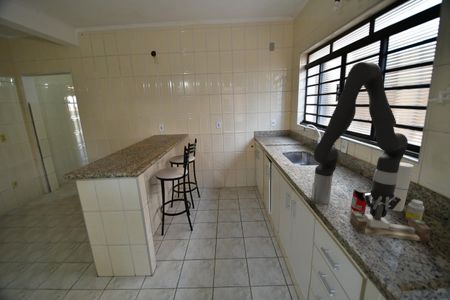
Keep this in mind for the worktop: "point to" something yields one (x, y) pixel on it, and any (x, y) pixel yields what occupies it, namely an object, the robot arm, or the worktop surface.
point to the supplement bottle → (415, 209)
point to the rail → (391, 233)
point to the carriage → (377, 218)
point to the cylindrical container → (402, 184)
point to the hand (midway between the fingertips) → (377, 215)
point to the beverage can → (358, 200)
